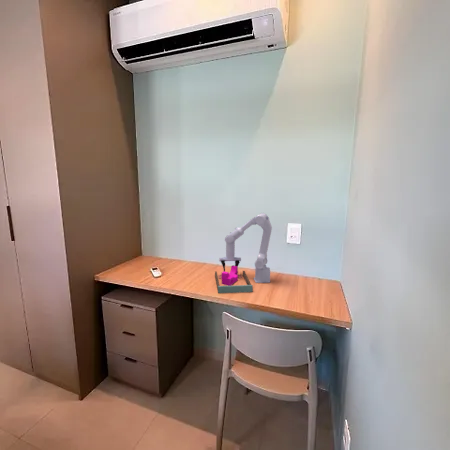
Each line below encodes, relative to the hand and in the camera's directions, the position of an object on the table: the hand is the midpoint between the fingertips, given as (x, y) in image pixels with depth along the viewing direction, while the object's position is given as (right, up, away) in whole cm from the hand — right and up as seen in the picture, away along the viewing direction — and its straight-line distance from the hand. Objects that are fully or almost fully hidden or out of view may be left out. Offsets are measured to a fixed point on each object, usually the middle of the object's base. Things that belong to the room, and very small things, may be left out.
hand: (229, 271), depth 184 cm
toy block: (+1, -5, -8) cm, 9 cm away
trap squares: (0, -4, -1) cm, 4 cm away
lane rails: (+1, -6, -11) cm, 12 cm away
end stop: (+3, -8, -25) cm, 26 cm away
